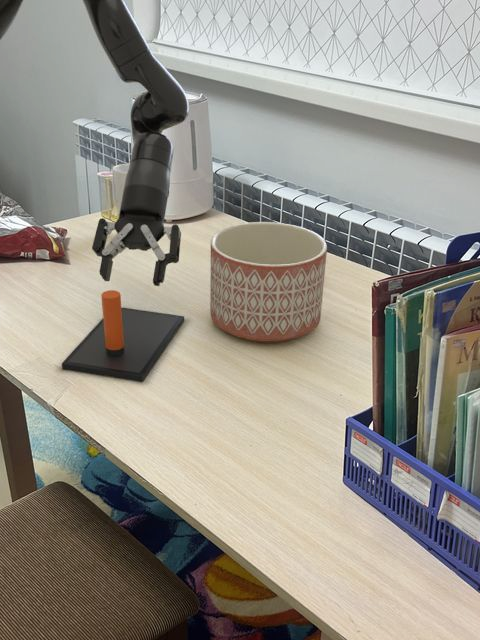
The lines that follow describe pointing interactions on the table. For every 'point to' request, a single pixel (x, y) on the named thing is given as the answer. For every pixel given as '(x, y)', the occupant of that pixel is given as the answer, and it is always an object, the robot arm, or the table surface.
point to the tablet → (126, 346)
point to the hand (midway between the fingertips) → (130, 282)
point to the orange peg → (113, 322)
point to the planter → (267, 280)
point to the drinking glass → (119, 183)
